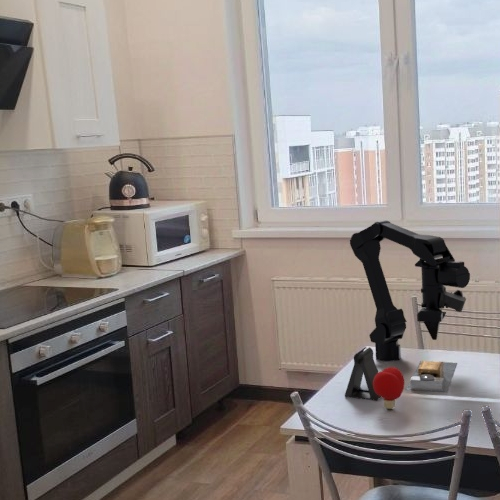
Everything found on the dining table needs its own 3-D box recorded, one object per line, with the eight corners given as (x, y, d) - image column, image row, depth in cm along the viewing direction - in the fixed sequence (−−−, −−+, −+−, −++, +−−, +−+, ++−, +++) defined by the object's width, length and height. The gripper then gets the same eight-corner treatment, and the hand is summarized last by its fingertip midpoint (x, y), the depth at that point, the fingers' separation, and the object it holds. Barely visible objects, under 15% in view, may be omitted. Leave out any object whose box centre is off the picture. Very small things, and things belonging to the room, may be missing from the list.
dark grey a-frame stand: (386, 393, 194) (384, 348, 192) (377, 401, 189) (375, 355, 187) (353, 389, 199) (351, 345, 197) (344, 396, 193) (342, 351, 192)
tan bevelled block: (418, 383, 197) (418, 368, 197) (422, 375, 204) (421, 360, 203) (440, 384, 195) (440, 369, 195) (443, 376, 202) (443, 361, 201)
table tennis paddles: (386, 401, 188) (384, 362, 187) (411, 406, 184) (410, 366, 182) (367, 413, 181) (365, 373, 180) (393, 418, 177) (391, 377, 175)
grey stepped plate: (405, 392, 193) (405, 377, 193) (420, 363, 216) (419, 350, 216) (447, 395, 190) (446, 380, 189) (457, 365, 212) (457, 351, 212)
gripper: (459, 291, 192) (461, 350, 194) (466, 277, 209) (468, 331, 211) (415, 290, 196) (418, 348, 198) (426, 277, 213) (428, 330, 215)
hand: (434, 339), depth 205 cm, fingers closed
